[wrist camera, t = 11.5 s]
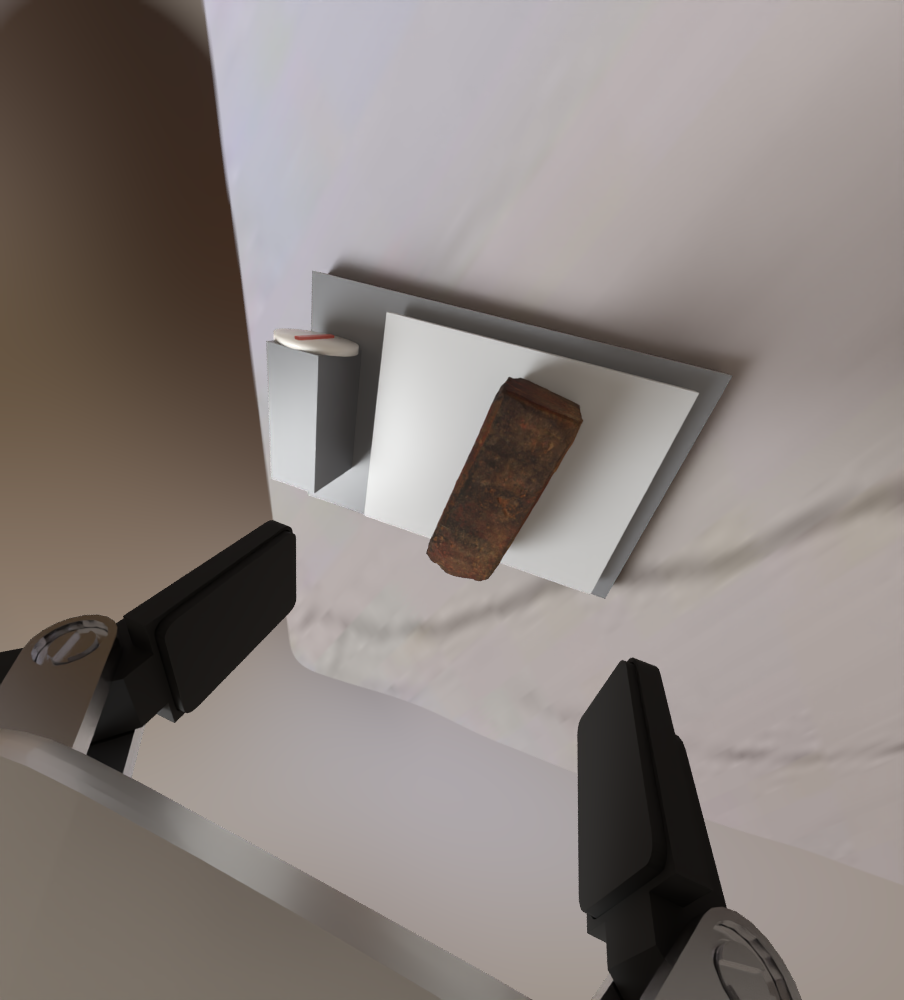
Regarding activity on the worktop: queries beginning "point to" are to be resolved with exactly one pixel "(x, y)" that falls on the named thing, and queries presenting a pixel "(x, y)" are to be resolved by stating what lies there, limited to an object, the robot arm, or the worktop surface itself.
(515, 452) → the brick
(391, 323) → the scale
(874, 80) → the worktop surface
